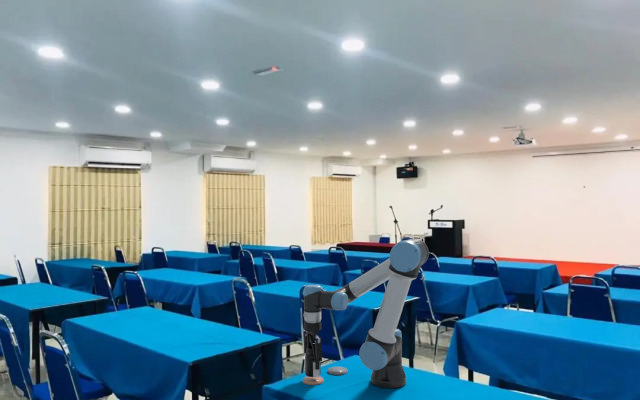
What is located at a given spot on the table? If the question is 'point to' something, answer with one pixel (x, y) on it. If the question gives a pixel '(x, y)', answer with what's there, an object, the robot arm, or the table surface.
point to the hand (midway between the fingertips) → (312, 373)
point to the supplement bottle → (309, 362)
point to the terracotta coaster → (312, 380)
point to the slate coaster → (337, 370)
